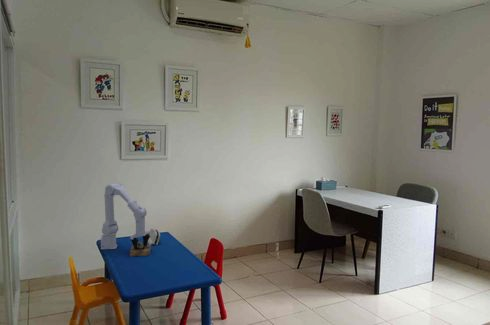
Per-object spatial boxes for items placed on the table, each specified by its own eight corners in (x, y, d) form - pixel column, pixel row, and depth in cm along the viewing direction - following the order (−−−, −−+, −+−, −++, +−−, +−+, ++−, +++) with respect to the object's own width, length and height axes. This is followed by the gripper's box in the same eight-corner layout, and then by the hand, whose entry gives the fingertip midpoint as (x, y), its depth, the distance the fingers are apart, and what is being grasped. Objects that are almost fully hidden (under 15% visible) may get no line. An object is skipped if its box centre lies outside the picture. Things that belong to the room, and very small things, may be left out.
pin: (137, 253, 243) (137, 243, 243) (138, 251, 247) (137, 241, 246) (143, 253, 244) (142, 243, 243) (143, 251, 247) (143, 241, 247)
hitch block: (129, 256, 238) (129, 251, 238) (132, 250, 250) (132, 245, 250) (149, 255, 240) (149, 250, 240) (150, 249, 252) (150, 245, 252)
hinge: (144, 239, 274) (149, 226, 275) (151, 240, 276) (155, 227, 277) (150, 245, 259) (155, 232, 260) (156, 247, 262) (161, 233, 262)
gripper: (135, 230, 235) (135, 251, 237) (153, 225, 247) (153, 246, 249) (128, 228, 240) (128, 249, 241) (146, 224, 251) (146, 243, 253)
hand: (140, 247), depth 245 cm, fingers open, 7 cm apart
